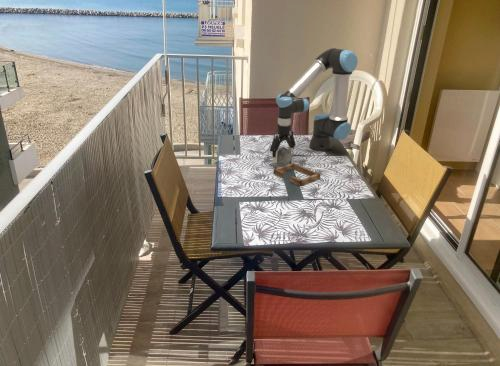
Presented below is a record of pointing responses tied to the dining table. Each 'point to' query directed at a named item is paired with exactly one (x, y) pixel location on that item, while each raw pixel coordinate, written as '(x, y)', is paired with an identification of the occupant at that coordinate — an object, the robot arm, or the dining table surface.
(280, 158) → the stone
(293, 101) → the robot arm
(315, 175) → the frame
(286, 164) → the slate coaster
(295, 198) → the dining table surface
